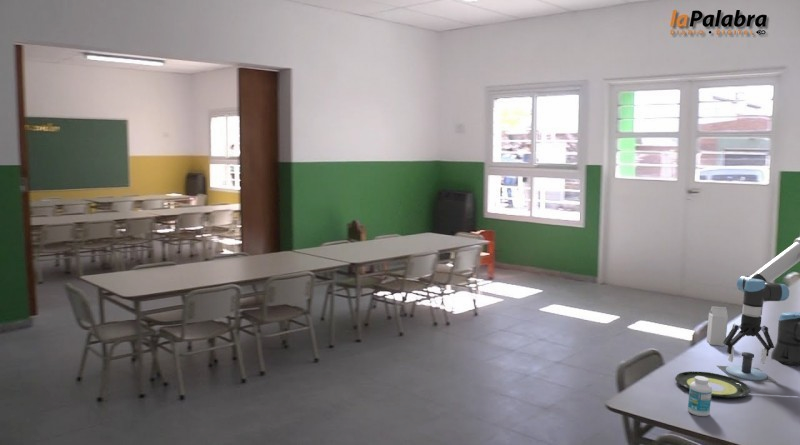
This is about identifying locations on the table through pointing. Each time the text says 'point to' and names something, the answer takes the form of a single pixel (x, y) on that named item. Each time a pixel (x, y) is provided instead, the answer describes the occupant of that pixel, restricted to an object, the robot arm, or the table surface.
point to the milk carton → (717, 326)
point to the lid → (746, 369)
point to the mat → (745, 379)
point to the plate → (730, 384)
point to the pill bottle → (700, 396)
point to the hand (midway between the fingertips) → (746, 362)
